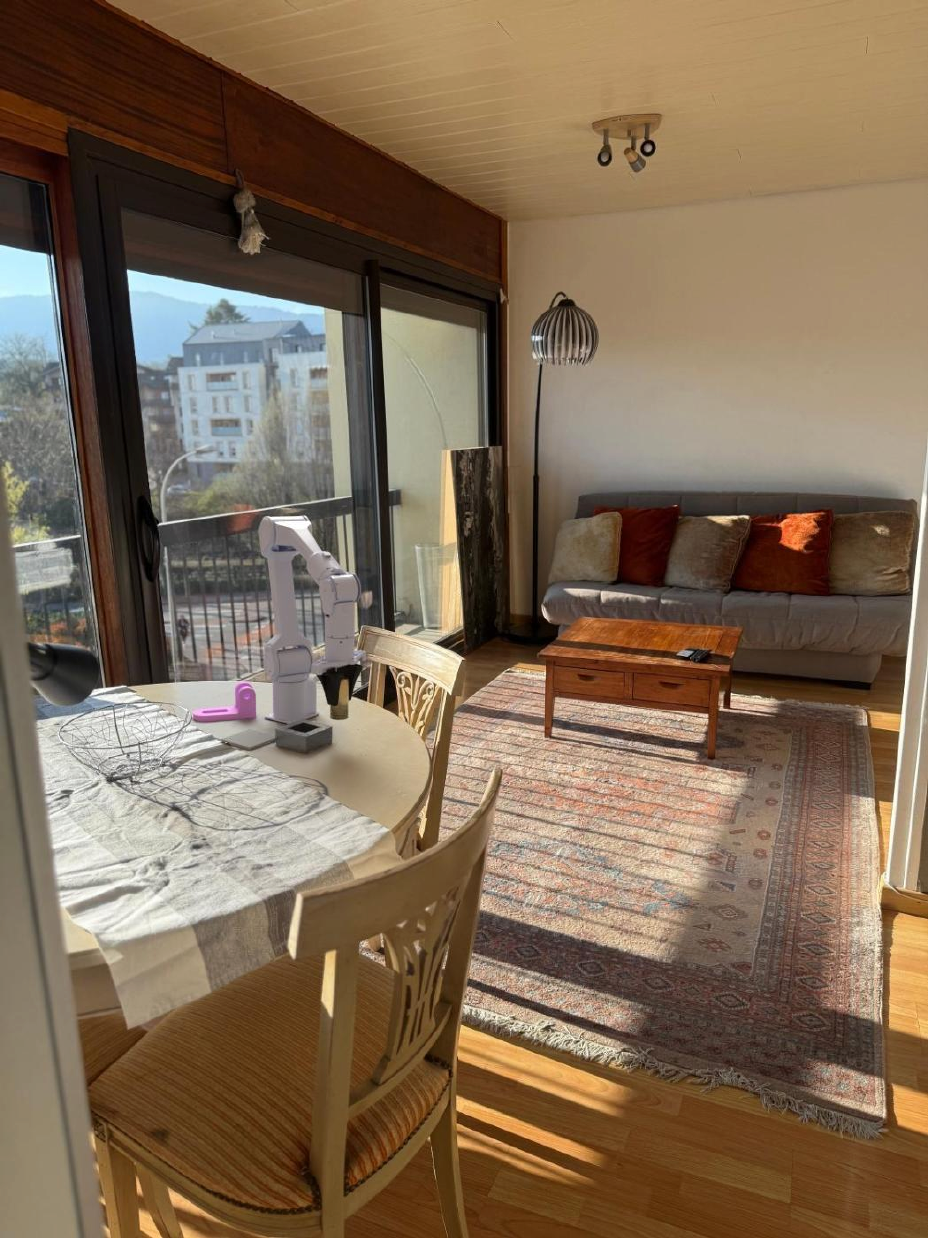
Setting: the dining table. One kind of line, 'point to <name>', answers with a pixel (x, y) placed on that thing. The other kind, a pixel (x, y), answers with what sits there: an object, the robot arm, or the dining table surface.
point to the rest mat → (249, 739)
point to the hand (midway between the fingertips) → (339, 702)
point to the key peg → (341, 702)
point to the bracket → (241, 710)
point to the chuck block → (303, 736)
